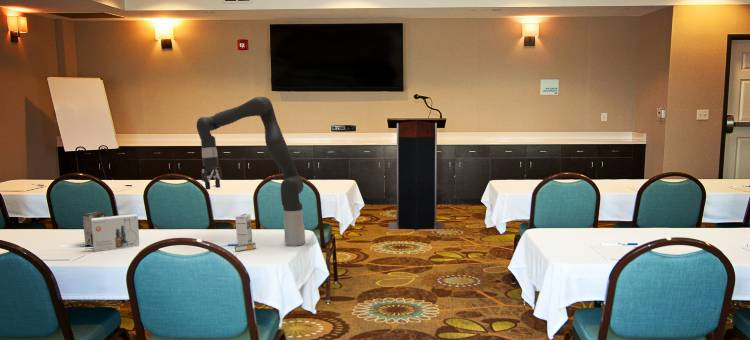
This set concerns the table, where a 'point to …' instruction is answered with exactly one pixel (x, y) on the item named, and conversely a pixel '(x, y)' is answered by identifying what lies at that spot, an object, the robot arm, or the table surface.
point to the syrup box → (243, 229)
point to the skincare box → (115, 232)
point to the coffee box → (90, 225)
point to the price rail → (245, 247)
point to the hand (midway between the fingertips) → (213, 188)
